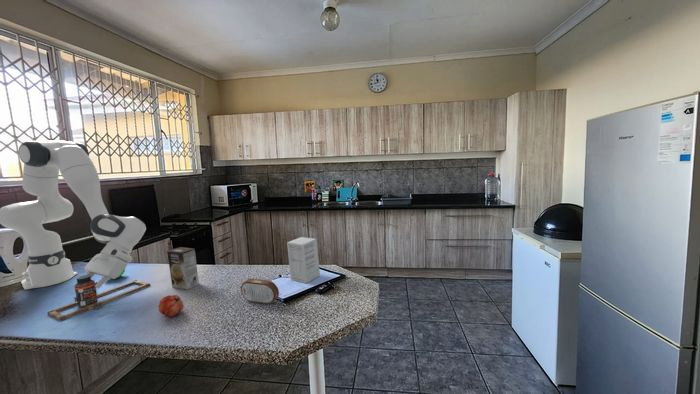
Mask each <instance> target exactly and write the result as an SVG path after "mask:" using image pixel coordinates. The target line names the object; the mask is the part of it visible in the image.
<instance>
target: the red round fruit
mask: <svg viewBox="0 0 700 394" xmlns="http://www.w3.org/2000/svg"><path fill="white" fill-rule="evenodd" d="M184 305H185V303H184V301H183V300H182V298H181V297H180V296H179V295H177V294H174V295H173V294H172V295H171V294H170V295H166V296H164V297H163V298H161V300H160V301H159V303H158V306H157V308H158V311H159V313H160V314H161V315H162V316H164V317H165V318H172V317H174V316H176V315H177V314H179V313H181V312H182V310H183V308H184Z"/></svg>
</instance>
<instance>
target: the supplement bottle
mask: <svg viewBox="0 0 700 394" xmlns="http://www.w3.org/2000/svg"><path fill="white" fill-rule="evenodd" d="M95 283H96V281H95V280H94V279H92V278H91V277H90V275H86V274H85V275H84V274H83V275H81V276H78V277H77V278H76V284H74V292H75V297H76V298H77V304H78V305H77V307H78V308H79V309H82V308H84V307H87V306H90V305H92V304H95V303H97V302H99V299H98V298H99V297H98V298H97V294H98V293H97V288H96V287H94V285H95Z"/></svg>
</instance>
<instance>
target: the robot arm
mask: <svg viewBox="0 0 700 394" xmlns="http://www.w3.org/2000/svg"><path fill="white" fill-rule="evenodd" d="M18 156H19V158H20V160H21V162H22V163H24V165H23V171H22V181H21V182H22V186H21V187H22V189H23V190H24V192H25V193H27V194H29V195H32V196H36V197H37V198H36V200H30V201H23V202H22V201H21V202H16V203H15V202H14V203H11V204H8V205H5V206H2V207H1V208H0V225H1V226H2V227H4V228H7V229H10V230H13V231H15V232H16V233H18V234H19V235H20V236H21V237H22V238H23V240H24V242H25V245H26V247H27V251H28V259H27V260H28V264H29V265H28V266H27V269H26V270H25V271H24V272H22V273H21V276H22V278H23V279H22V280H21V283H20V284H21V285H22V288H23V290H30V289H37V288H45V287H49V286H53V285H58V284H61V283H63V282H67V281H69V280H70V279H72V278H73V277H75V276H77V275H78V272H77V271H74V270H73V266H72V262H71V259H68V258H67V257H66V252H65V249H63V245H62V239H61V236H60V234H58V232H56V231H52V230H47V229H45V228H44V226H43V224H48V223H54V222H59V221H62V220H65V219H67V218H70V217H71V216H72V215H73V213H74V210H75V209H74V205H73V203H72V202H71V201H70V200H68V198H64V197H63V196H62V195H61V194H60V191H59V176H60V175H59V174H61V176H62V178H63V180H64V182H65V183H66V184H67V186H68V187H69V188H70V190H71V191H72V192H73V193H74V194H75V196H76V197H78V199H79V200H80V201H81V202H82V203H83V205H84V207H85V208H86V209H85V210H87V213H88V215H89V217H90V219H91V221H90V224H89V227H90V231H91V233H92V235H93V238H94V240H95V241H96V242H98V243H101V244H106V245H105V246H104V247H103V249H102V250H101V251H100V253H97V254H95V255H94V256H93V257H92V258H91V259H90V260H89V262H87V263H86V264H85V266H84V268H83V269H84V271H86V273H85V275H90V277H91V279H92V278H93V277H94V276H95V275H97V276H101V277H100V279H99V280H98V281H95V285H94V287H96V289H100V288H101V287H102V286H103V285H104V284H106V283H107V281H109V280H110V278H111V279H112V280H116V279H117V277H118V276H119V275H120V274H121V273H122V272H123V270H124V269H125V270H126V267H127V266H128V264H130V263H131V262H132V261H133V257H132V256H131V252H132V250H133V248H134V247H135V246H136V245H137V244H138V243H139V241H140V240H141V239H142V237H143V236H144V234H145V233H146V230H147V227H146V224H145V222H144V221H143V220H142V219H140V218H138V217H136V216H119V215H115V214H109V212H108V209H107V207H106V205H105V203H104V201H103V197H102V192H101V190H102V189H101V181H100V176H99V173H98V170H97V168H96V166H95V165H94V162H93V161H92V159H91V158H90V153H89V149H88V147H87V146H86V145H85V144H84V143H81V142H79V141H75V140H74V141H69V140H68V141H66V140H58V139H57V140H56V139H55V140H38V141H37V140H29V141H25V142H24V141H23V142H22V143H21V145H20V146H19V147H18ZM24 278H25V279H24Z"/></svg>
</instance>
